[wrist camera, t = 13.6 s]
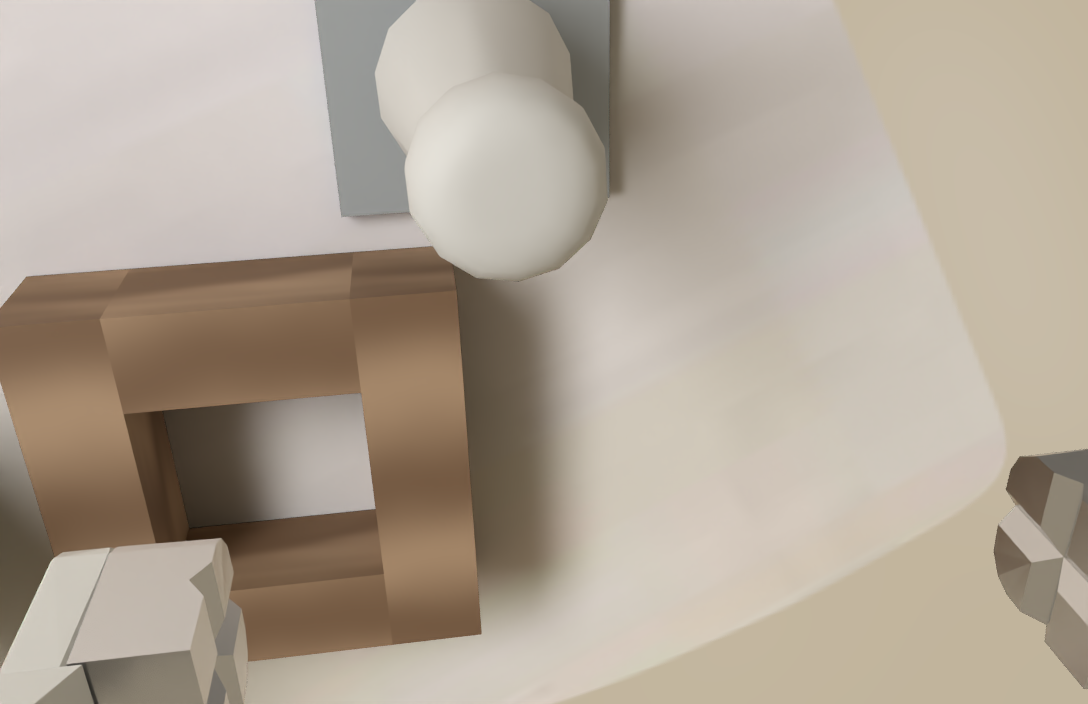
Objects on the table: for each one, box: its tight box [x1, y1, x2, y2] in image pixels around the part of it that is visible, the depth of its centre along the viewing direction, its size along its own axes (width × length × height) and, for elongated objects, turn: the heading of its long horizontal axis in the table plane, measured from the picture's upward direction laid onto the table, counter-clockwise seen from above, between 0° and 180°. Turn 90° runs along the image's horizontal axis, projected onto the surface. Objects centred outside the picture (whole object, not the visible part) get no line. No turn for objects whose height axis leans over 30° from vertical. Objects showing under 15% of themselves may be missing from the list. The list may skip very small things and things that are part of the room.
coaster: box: [315, 0, 610, 217], centre depth 32 cm, size 9×9×1 cm
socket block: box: [0, 246, 481, 662], centre depth 36 cm, size 14×14×4 cm
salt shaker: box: [375, 0, 608, 282], centre depth 26 cm, size 6×6×13 cm
